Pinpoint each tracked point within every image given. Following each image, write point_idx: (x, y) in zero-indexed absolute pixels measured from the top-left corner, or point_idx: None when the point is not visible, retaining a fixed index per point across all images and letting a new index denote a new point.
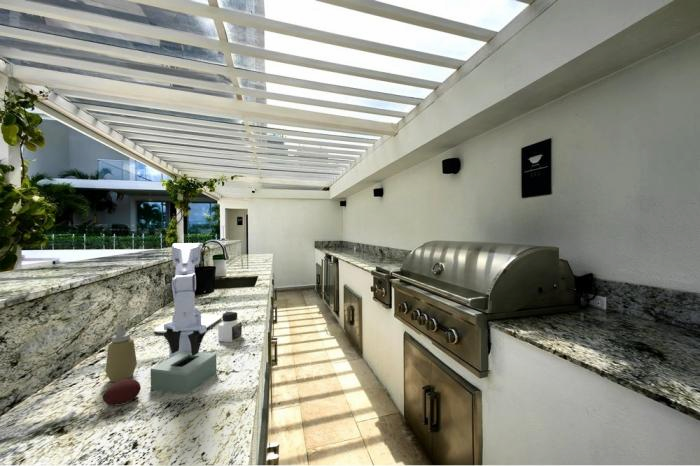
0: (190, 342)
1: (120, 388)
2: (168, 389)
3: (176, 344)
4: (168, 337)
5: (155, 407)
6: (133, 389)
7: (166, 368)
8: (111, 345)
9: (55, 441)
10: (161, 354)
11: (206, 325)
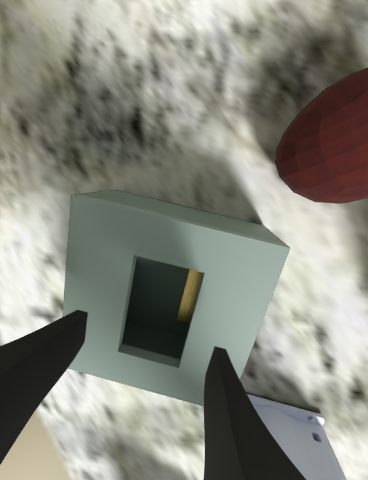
0: (11, 364)
1: (353, 88)
2: (188, 208)
3: (210, 407)
4: (253, 466)
5: (175, 112)
6: (293, 132)
7: (203, 245)
8: None
9: None
10: (363, 445)
11: None
